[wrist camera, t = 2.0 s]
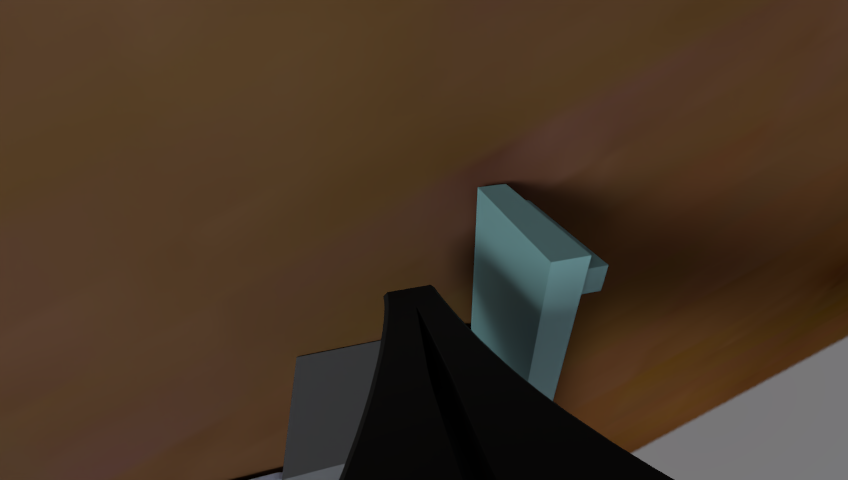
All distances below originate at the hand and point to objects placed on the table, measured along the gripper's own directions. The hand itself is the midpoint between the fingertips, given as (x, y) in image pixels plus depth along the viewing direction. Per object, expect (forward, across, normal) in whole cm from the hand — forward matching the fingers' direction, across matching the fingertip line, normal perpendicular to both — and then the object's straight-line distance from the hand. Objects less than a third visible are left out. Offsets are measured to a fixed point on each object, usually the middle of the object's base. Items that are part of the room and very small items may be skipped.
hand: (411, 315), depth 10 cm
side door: (+3, -4, +5) cm, 7 cm away
